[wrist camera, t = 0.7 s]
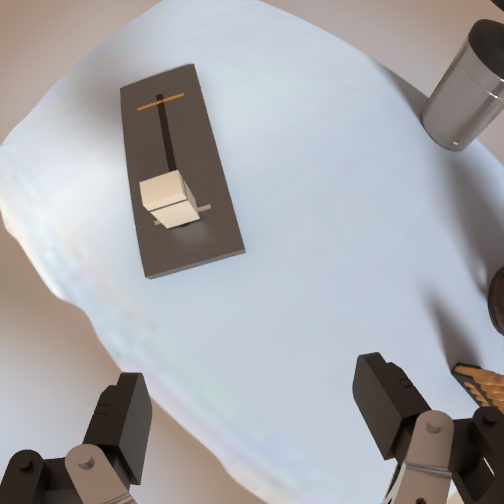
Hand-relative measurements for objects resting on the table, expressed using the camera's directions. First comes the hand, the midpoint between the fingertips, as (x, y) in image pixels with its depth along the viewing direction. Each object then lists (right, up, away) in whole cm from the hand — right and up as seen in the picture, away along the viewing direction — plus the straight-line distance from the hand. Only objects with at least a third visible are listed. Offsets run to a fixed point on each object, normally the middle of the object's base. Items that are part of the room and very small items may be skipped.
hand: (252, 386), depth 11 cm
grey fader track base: (-11, +17, +30) cm, 37 cm away
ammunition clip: (+30, -14, +22) cm, 40 cm away
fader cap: (-8, +9, +26) cm, 29 cm away
